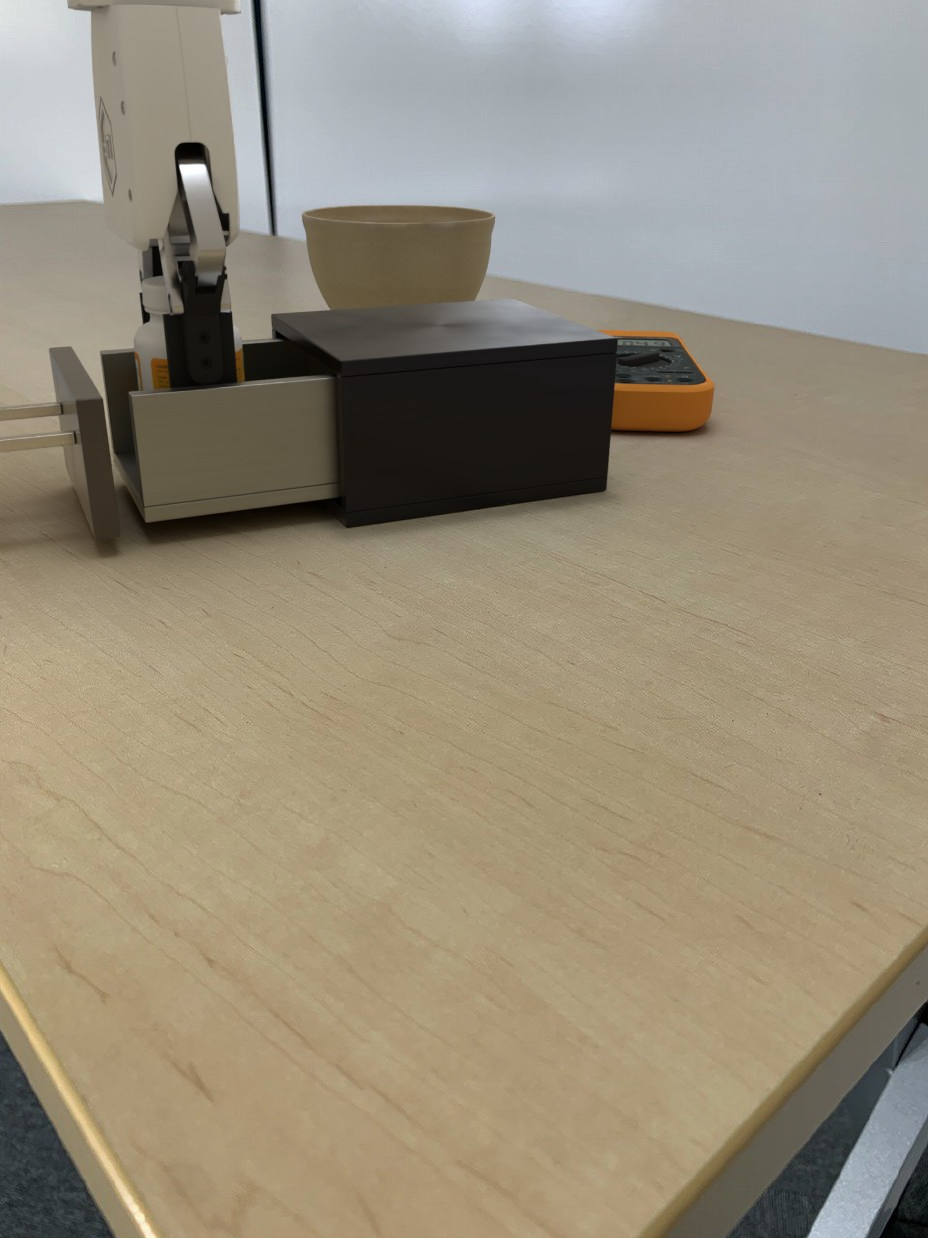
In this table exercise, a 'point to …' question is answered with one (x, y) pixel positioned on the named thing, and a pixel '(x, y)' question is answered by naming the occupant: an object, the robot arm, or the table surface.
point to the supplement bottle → (163, 340)
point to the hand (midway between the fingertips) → (191, 377)
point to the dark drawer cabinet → (461, 405)
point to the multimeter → (658, 384)
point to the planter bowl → (397, 253)
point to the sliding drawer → (193, 435)
